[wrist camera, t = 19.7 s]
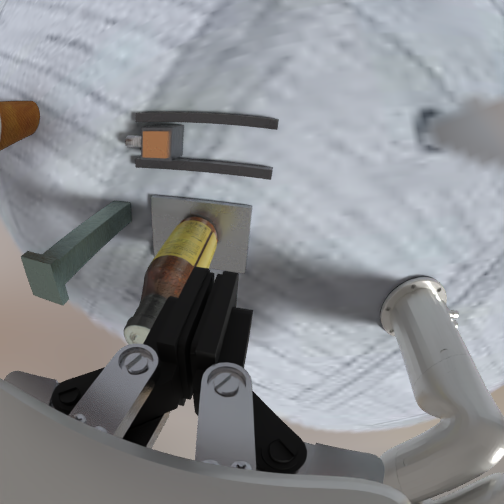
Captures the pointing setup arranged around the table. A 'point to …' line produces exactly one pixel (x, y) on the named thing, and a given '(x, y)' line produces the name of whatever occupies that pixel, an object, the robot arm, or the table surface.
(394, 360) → the table surface
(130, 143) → the orange-faced grey cube
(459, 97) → the table surface
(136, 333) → the sauce bottle
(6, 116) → the disposable coffee cup
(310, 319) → the table surface
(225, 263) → the frame
